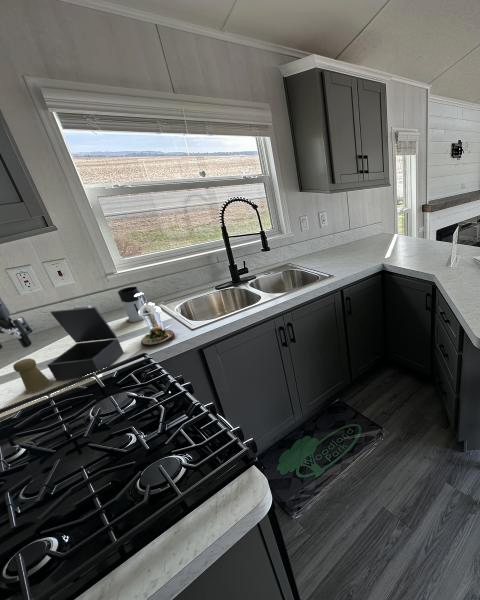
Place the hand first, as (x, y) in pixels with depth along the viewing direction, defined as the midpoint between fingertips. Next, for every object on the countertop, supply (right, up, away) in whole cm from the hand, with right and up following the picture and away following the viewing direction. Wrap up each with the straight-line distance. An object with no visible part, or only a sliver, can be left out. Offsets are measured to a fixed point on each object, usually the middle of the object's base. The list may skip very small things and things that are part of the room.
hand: (13, 347), depth 109 cm
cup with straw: (+18, +2, +40) cm, 44 cm away
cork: (+1, -15, +7) cm, 17 cm away
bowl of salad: (+24, -2, +33) cm, 41 cm away
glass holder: (+2, +7, +53) cm, 53 cm away
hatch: (+9, +6, +16) cm, 19 cm away
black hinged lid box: (+10, -9, +17) cm, 22 cm away
